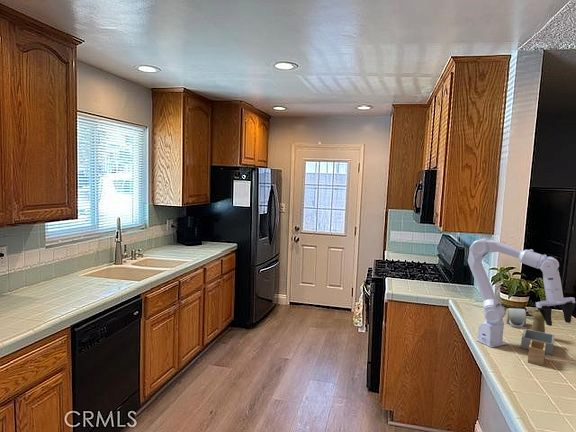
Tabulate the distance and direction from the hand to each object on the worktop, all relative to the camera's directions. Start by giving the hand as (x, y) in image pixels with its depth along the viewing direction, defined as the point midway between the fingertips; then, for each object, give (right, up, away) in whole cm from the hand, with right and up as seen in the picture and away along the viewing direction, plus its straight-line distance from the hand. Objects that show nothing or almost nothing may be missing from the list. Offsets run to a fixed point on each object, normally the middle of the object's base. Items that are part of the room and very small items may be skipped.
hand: (558, 323), depth 159 cm
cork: (+6, -12, +24) cm, 28 cm away
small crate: (-9, -14, -1) cm, 16 cm away
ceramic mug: (+5, -11, +39) cm, 41 cm away
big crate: (-1, -13, +13) cm, 18 cm away
